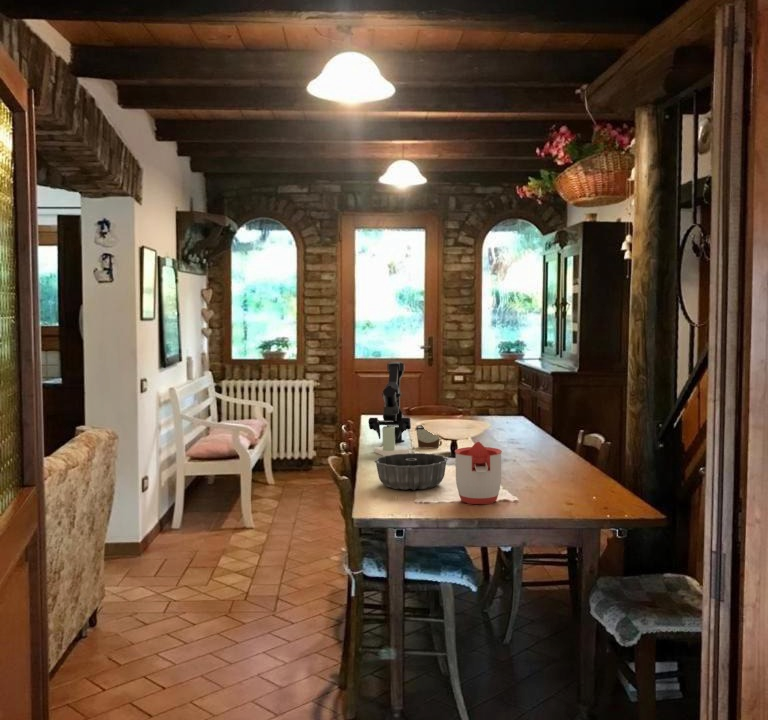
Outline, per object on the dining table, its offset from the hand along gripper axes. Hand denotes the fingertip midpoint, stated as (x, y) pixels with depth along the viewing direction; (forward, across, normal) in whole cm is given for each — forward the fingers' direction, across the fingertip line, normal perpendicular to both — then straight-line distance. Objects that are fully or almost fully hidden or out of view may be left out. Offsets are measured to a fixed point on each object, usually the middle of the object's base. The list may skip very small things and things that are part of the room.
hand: (388, 438), depth 347 cm
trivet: (+2, +1, +8) cm, 8 cm away
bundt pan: (+48, +15, -37) cm, 62 cm away
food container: (-10, +17, +20) cm, 28 cm away
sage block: (+3, 0, +5) cm, 5 cm away
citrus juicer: (+64, +39, -54) cm, 92 cm away
